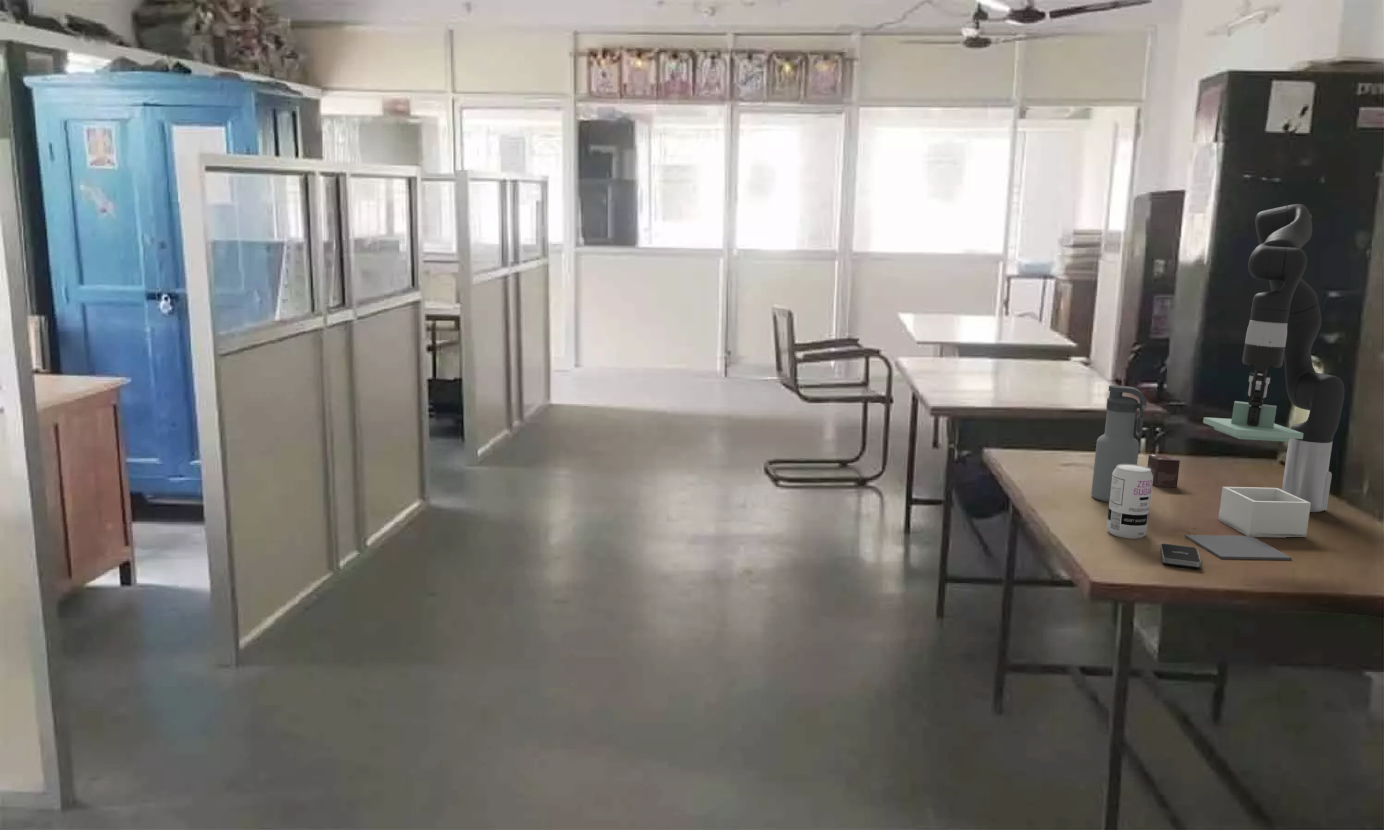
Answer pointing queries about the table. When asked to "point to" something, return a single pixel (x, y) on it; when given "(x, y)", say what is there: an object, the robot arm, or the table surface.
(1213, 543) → the mat
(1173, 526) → the table surface
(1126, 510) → the supplement can
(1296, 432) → the lid
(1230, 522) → the storage box
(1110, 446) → the water bottle
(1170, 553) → the external hard drive
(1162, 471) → the box
